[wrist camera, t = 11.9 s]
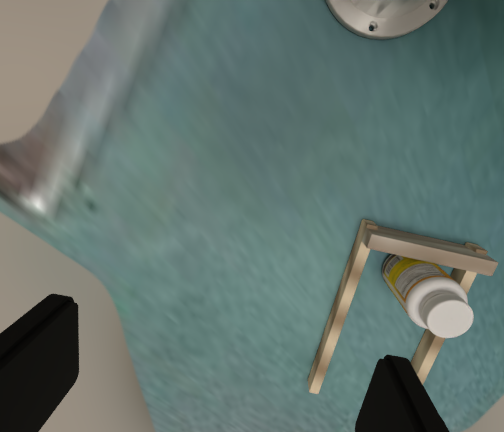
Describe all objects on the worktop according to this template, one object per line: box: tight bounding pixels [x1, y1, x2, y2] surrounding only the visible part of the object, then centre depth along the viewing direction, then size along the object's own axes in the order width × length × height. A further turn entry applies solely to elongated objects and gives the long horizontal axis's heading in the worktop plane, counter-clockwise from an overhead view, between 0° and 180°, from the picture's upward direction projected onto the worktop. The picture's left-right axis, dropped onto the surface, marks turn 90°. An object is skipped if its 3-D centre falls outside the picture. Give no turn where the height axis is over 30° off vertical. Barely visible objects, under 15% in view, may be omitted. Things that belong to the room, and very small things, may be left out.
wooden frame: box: [308, 219, 498, 394], centre depth 38 cm, size 24×13×4 cm, turn 168°
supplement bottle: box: [382, 254, 474, 338], centre depth 33 cm, size 6×6×10 cm
